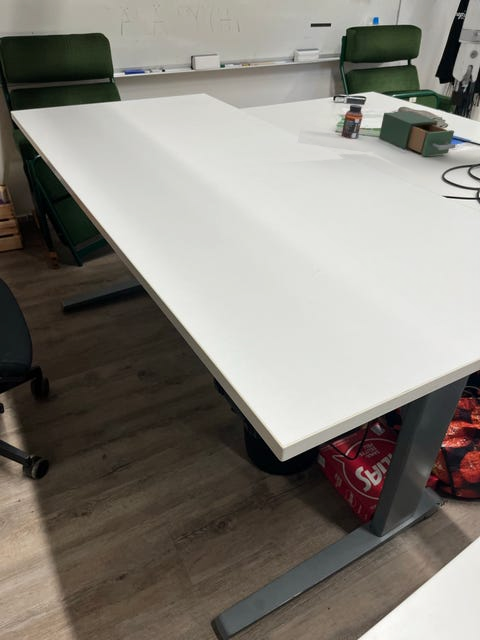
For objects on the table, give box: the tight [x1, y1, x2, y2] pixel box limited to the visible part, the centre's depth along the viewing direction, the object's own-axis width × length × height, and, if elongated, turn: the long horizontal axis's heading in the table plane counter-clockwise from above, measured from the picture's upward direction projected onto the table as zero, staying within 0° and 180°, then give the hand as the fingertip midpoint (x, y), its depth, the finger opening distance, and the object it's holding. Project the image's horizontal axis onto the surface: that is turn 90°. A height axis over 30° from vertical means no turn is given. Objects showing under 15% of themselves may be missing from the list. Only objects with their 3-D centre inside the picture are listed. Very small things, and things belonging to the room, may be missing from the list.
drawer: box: [407, 124, 456, 157], centre depth 161 cm, size 18×10×7 cm, turn 23°
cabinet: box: [378, 110, 439, 151], centre depth 170 cm, size 15×12×9 cm
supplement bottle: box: [341, 104, 363, 140], centre depth 171 cm, size 6×6×11 cm
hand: (454, 104), depth 149 cm, fingers closed
